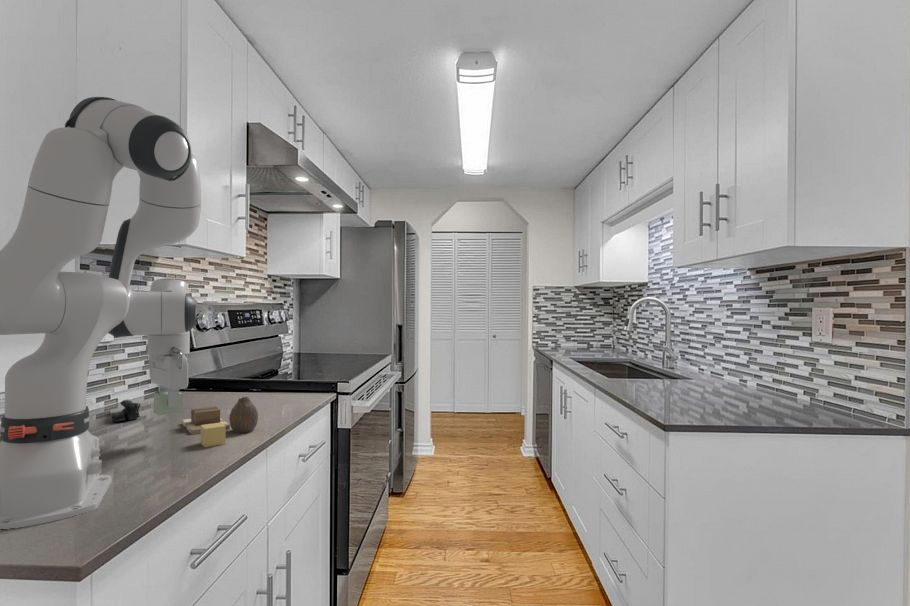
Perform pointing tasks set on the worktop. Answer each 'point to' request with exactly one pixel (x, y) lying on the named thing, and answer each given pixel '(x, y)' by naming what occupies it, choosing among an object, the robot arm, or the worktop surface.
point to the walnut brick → (205, 415)
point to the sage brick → (161, 404)
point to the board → (197, 429)
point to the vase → (243, 416)
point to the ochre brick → (213, 434)
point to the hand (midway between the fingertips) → (168, 404)
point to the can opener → (127, 411)
